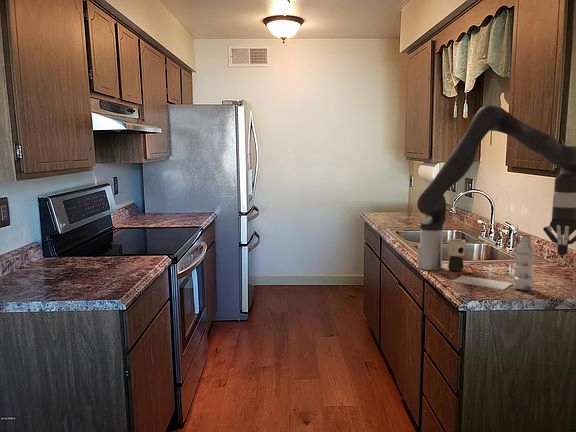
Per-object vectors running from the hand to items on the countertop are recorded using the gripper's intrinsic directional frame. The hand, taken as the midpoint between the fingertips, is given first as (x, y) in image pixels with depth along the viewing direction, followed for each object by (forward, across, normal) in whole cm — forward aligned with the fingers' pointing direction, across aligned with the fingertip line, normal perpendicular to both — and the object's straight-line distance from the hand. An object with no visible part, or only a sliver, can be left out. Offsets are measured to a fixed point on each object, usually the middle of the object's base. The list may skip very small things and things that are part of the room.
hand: (562, 255), depth 164 cm
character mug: (+14, -42, +13) cm, 46 cm away
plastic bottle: (+14, -12, 0) cm, 19 cm away
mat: (+14, -27, 0) cm, 30 cm away
